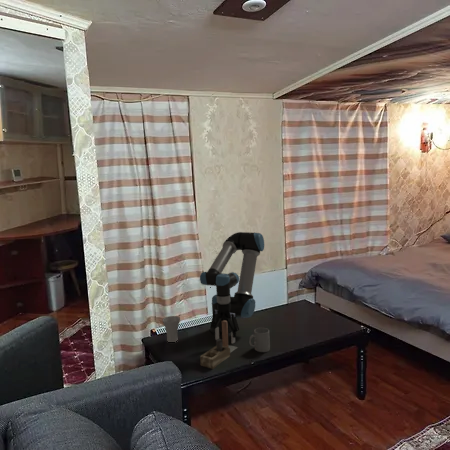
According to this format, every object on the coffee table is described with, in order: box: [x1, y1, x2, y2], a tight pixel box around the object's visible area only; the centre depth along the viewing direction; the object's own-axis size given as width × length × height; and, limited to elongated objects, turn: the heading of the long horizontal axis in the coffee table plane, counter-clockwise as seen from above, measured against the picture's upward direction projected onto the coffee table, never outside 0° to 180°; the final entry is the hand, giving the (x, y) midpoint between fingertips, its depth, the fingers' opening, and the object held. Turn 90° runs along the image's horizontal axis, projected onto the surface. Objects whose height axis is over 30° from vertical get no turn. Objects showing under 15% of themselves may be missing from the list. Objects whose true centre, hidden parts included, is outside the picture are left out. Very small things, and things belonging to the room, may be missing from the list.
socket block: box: [199, 338, 231, 370], centre depth 218 cm, size 8×16×10 cm, turn 146°
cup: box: [162, 315, 181, 343], centre depth 245 cm, size 10×10×14 cm
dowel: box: [221, 320, 229, 347], centre depth 231 cm, size 3×3×16 cm
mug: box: [248, 327, 271, 353], centre depth 229 cm, size 12×8×11 cm
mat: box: [222, 343, 239, 354], centre depth 232 cm, size 10×10×1 cm
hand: (225, 340), depth 231 cm, fingers open, 10 cm apart
